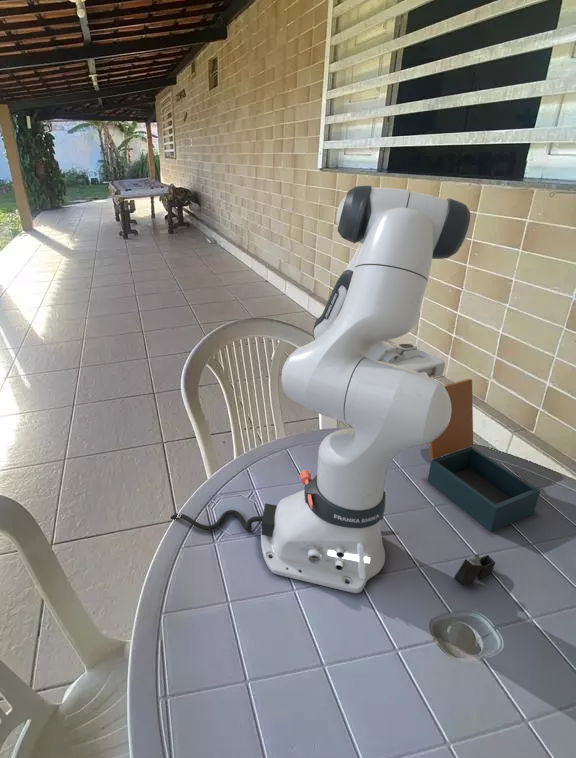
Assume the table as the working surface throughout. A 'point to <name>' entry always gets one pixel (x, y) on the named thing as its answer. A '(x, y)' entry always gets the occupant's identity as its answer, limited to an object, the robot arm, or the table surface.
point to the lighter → (474, 569)
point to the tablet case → (474, 501)
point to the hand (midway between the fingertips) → (430, 386)
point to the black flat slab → (482, 486)
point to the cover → (456, 421)
